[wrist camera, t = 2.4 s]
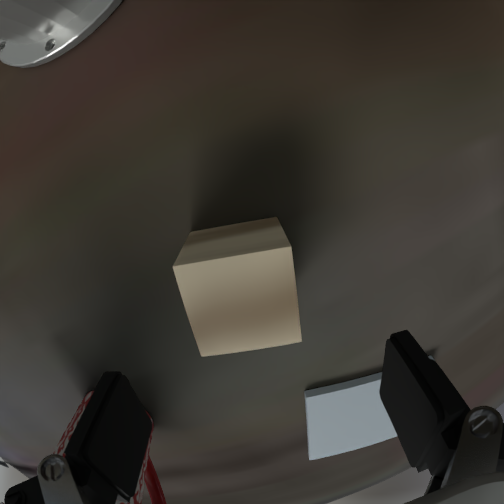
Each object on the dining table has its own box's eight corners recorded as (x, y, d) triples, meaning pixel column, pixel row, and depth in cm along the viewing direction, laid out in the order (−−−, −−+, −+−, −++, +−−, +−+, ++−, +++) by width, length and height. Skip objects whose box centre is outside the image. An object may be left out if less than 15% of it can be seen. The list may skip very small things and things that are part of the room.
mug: (60, 391, 22) (11, 495, 9) (114, 370, 20) (60, 512, 8) (141, 457, 26) (123, 552, 13) (203, 446, 25) (196, 561, 12)
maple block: (190, 231, 17) (172, 266, 12) (276, 216, 17) (291, 246, 12) (209, 305, 18) (201, 356, 14) (287, 292, 18) (301, 341, 14)
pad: (304, 390, 22) (306, 397, 21) (430, 355, 21) (434, 360, 21) (308, 454, 26) (309, 460, 25) (407, 426, 26) (409, 431, 25)
